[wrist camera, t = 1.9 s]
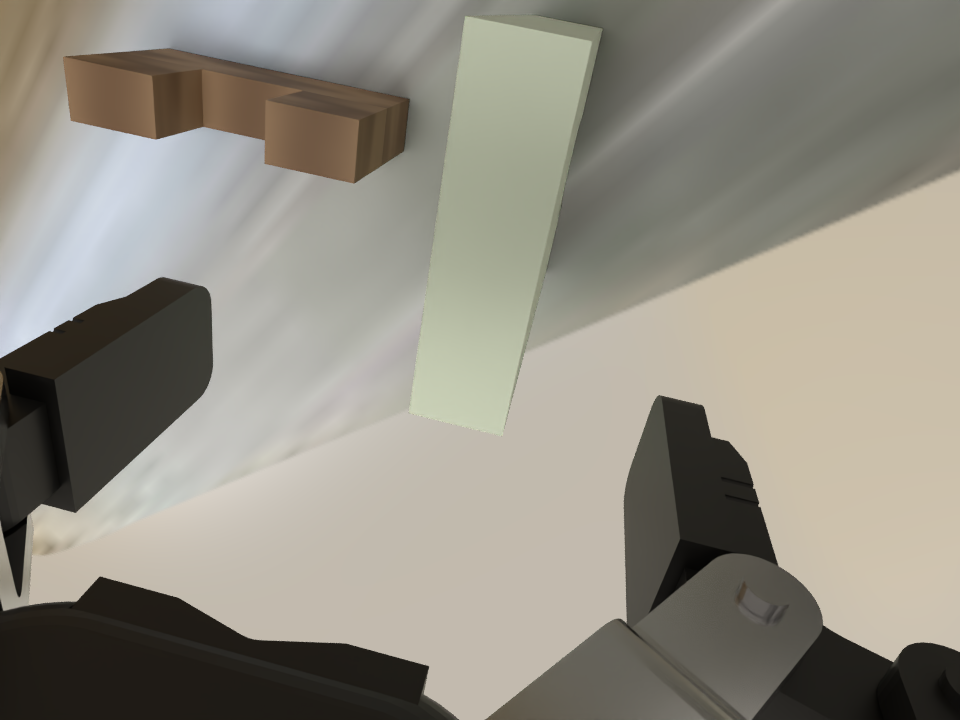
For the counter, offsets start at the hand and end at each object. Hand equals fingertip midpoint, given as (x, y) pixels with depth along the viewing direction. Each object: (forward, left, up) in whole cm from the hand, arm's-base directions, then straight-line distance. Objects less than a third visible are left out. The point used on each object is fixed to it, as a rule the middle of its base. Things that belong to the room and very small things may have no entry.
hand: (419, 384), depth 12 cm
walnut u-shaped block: (0, -12, -22) cm, 25 cm away
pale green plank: (0, 0, -22) cm, 22 cm away
